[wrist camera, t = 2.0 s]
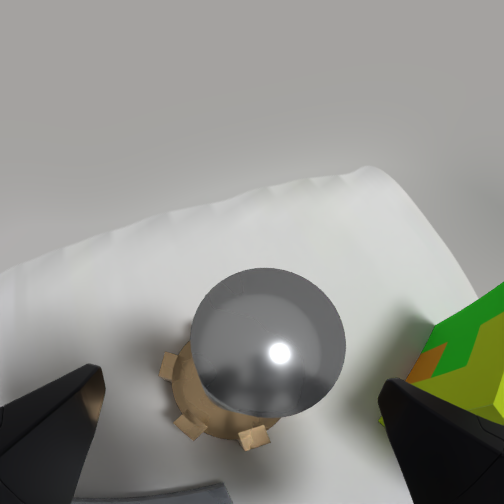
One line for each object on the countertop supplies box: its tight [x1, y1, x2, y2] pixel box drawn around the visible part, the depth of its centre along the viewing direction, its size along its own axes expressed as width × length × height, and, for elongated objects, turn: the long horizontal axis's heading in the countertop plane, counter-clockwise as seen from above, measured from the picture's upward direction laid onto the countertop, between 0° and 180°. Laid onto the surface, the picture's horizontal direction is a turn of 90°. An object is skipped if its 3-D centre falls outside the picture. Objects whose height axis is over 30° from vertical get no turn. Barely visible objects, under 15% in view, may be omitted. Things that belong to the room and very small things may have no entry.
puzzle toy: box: [378, 282, 504, 427], centre depth 12 cm, size 10×10×10 cm
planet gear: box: [159, 268, 346, 451], centre depth 10 cm, size 8×7×12 cm
